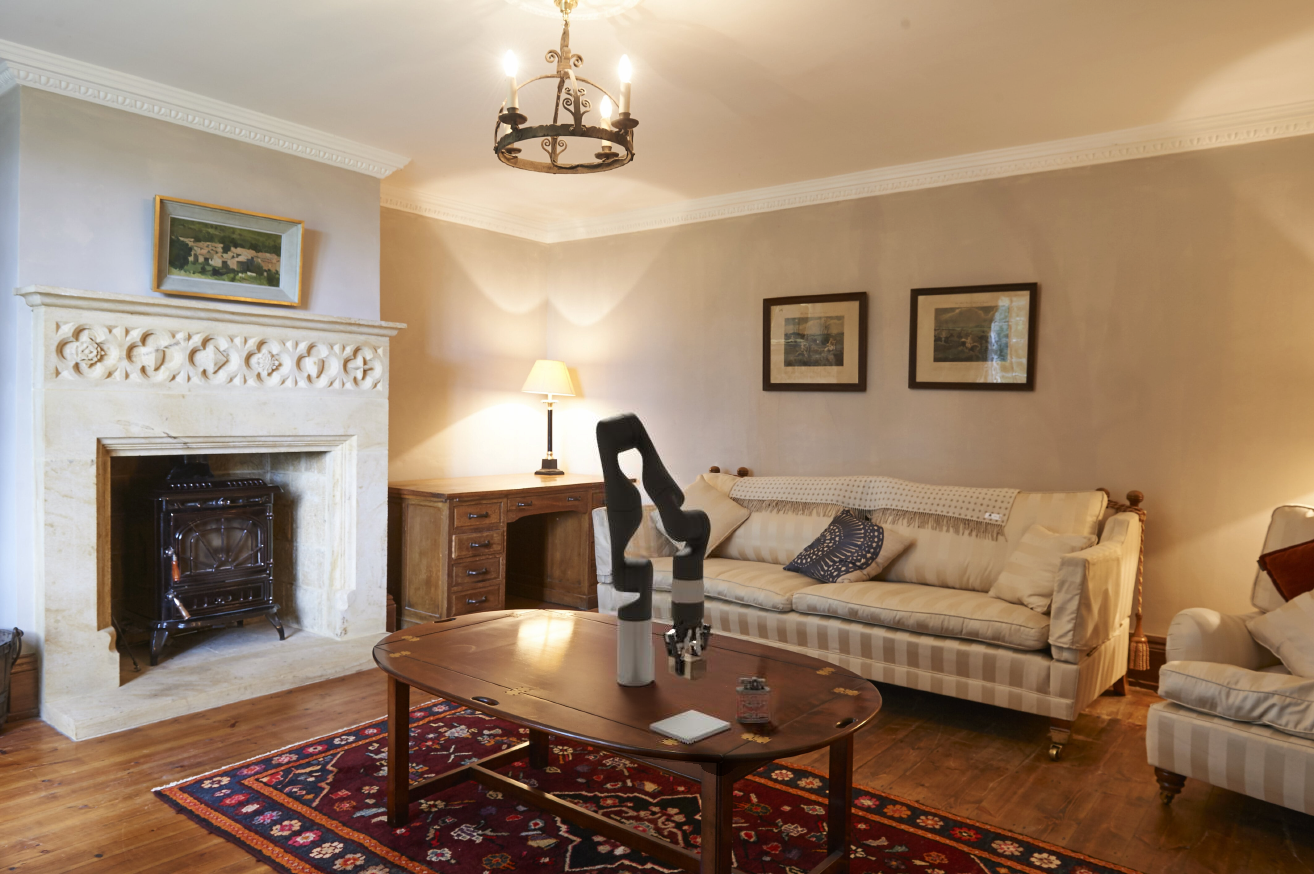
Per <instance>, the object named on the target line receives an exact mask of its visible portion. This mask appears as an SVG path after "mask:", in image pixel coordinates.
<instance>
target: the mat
mask: <svg viewBox="0 0 1314 874" xmlns="http://www.w3.org/2000/svg"><path fill="white" fill-rule="evenodd" d="M649 729H650V730H651V731H653V732H657V733H659V734H661V735H664V736H667V737H669V738H671V737H672V738H671V739H674V740H676V739H677V740H676V741H679V742H681V741H682V742H681V743H684V742H685V743H684V744H686V743H687V745H689V743H690V744H692V743H694V741H695V742H697V741H700V740H702V739H704V738H707V737H710V736H712V735H713V736H714V735H715V734H717V733H720V732H723V731H725V730H728V729H731V723H730V722H727V721H725V720H722V719H720V718H719V719H718V718H717V717H715V716H714V717H713V716H711V715H708V714H705V713H702V712H699V711H697V710H694V709H690V710H688V711H685V712H682V713H679V714H676V715H673V716H670V717H667V718H665V719H663V720H659V721H657V722H653V723H651V724H649Z"/></svg>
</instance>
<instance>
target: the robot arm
mask: <svg viewBox="0 0 1314 874" xmlns="http://www.w3.org/2000/svg"><path fill="white" fill-rule="evenodd" d="M595 434H596V435H595V436H596V437H595V438H596V444H597V449H598V454H599V459H600V464H601V469H602V476H603V485H604V496H605V507H606V518H607V523H608V530H609V531H608V532H609V539H610V555H611V559H610V561H611V562H610V563H611V579H612V585H613V588H614V590H615V591H616V592H620V593H632V594H639V596H638V598H636V599H635V600H633V601H631V602H627V603H625V604H622V605H619V607H618V608H617V649H616V650H617V654H616V655H617V656H616V657H617V665H616V666H617V668H616V669H617V671H616V672H617V673H616V674H617V680H616V681H617V683H618V684H619V685H621V686H628V687H641V686H646V685H648V684H651V682H652V681H654V680H655V644H654V643H653V641H652V639H653V637H652V635H653V631H652V630H653V619H652V617H653V586H654V585H653V584H654V564H653V561H652V560H651V559H650V558H644V557H643V558H642V557H641V558H640V557H626V556H625V551H626V550H627V547H628V545H629V542H630V541H631V540H632V538H633V537H634V535H635V534H636V532H637V530H638V529H639V528H640V526H641V524H642V522H643V519H644V518H643V516H644V515H643V503H642V494H641V492H640V490H639V489H638V487H637V486H636V485H635V483H633V481H631V480H630V479H629V477H627V475H626V474H625V473H624V472H623V470H622V469H621V466H620V463H619V454H621V453H624V452H626V451H627V452H628V451H630V450H633V449H636V450H637V451H638V453H640V456H641V460H642V470H641V482H642V486H643V489H644V490H645V493H646V495H647V496H648V497H649V499H650V500H651V502H652V503H653V504H654V506H655V507H656V509H657V510H658V514H659V517H660V521H661V523H662V526H663V529H664V532H665V533H666V534H667V537H669V538H670V539H671V540H673V541H674V542H677V543H684V546H683V548H682V549H681V550H679V551H677V552H675V553H674V555H673V556H672V578H671V579H672V582H671V592H670V595H671V597H670V598H671V599H670V607H671V608H670V609H671V610H670V616H671V617H670V618H671V619H672V621H673V624H672V627H671V630H670V631H669V632H663V634H662V638H663V641H664V645H665V649H666V652H667V653H666V654H667V656H668V658H669V657H673V658H675V672H676V674H677V675H676V676H678V675H680V676H679V677H681V676H684V675H685V659H684V658H685V653H686V651H687V650H688V649H689V653H690V655H693V656H696V657H700V656H701V654H702V652H705V651H707V647H708V643H709V639H710V635H711V631H712V626H711V625H710V624H707V623H703V619H704V618H705V583H704V560H705V555H706V553H707V548H708V545H709V541H710V537H711V532H712V526H711V520H710V517H709V516H708V514H707V513H706V512H705V511H704V510H703V509H699V508H698V509H697V508H696V509H685V510H682V509H681V508H682V506H683V505H684V503H685V500H686V498H685V494H684V491H682V489H681V487H680V486H679V485H678V484H677V482H676V481H675V479H674V478H673V477H672V475H671V474H670V473H669V471H668V470H667V468H666V466H665V465H664V463H663V461H662V459H661V457H660V455H659V453H658V451H657V449H656V447H655V445H654V443H653V441H652V439H651V438H650V435H649V433H648V431H647V429H646V428H645V426H644V424H643V422H642V421H641V419H640V418H639V417H638V415H636V413H633V412H631V411H625V412H622V413H619V414H618V413H617V414H615V415H612V416H609V417H605V418H603V419H600V420H598V422H597V423H596V427H595ZM680 643H681V644H680ZM679 652H680V653H679ZM700 658H701V657H700Z"/></svg>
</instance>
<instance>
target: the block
mask: <svg viewBox="0 0 1314 874" xmlns="http://www.w3.org/2000/svg"><path fill="white" fill-rule="evenodd" d="M679 653H680V651H679ZM690 654H691V653H690ZM690 654H689V653H686V652H685V658H684V659H685V675H684V676H680V675H677V674H676V672H675V658H673V657H669V656H668V673H669V674H672V675H674V676H678V677H681V678H683V679H684V678H685V679H687V680H691V681H698V680H701V679H703V678H707V659H706V658H703V657H696V656H693V655H690Z"/></svg>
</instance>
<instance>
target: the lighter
mask: <svg viewBox="0 0 1314 874" xmlns="http://www.w3.org/2000/svg"><path fill="white" fill-rule="evenodd" d="M738 685H740V686H736V687H735V693H736V699H735V701H736V707H735V708H736V709H735V710H736V711H735V712H736V713H735V721H736V722H737V723H746V724H748V723H753V724H754V723H755V724H756V723H759V724H760V723H768V722H770V720H771V716H770V693H771V688H770V687H768V686H765V685H766V679H765V678H757V677H756V676H752V677H751V678H749V677H741V678H739V679H738ZM742 685H743V686H742Z"/></svg>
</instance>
